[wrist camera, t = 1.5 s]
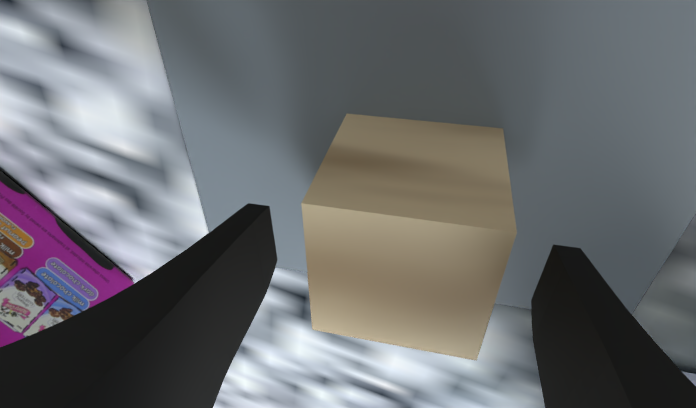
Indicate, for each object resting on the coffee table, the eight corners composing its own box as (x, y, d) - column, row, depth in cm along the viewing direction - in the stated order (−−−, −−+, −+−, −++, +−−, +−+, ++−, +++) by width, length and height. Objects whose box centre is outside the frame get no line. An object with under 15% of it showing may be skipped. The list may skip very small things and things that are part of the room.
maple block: (474, 245, 15) (476, 360, 11) (347, 227, 16) (312, 329, 12) (502, 128, 12) (517, 232, 9) (346, 113, 13) (301, 203, 9)
